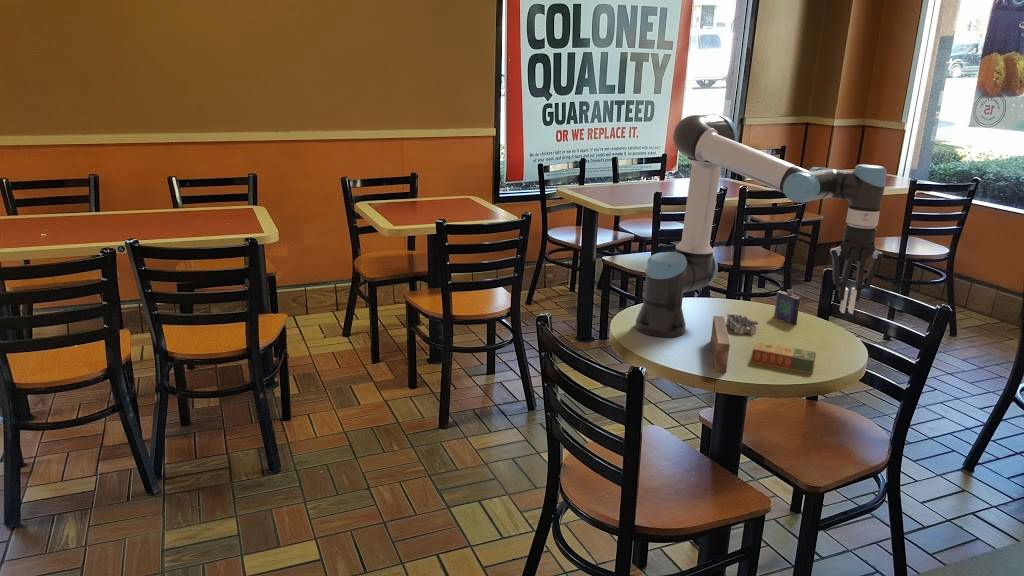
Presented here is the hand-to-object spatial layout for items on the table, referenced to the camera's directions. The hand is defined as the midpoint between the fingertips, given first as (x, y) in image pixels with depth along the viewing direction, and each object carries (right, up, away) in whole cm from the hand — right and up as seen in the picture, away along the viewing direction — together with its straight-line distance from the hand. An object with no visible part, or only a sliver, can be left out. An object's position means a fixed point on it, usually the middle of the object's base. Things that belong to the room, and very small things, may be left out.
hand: (846, 311), depth 197 cm
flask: (0, -5, +44) cm, 44 cm away
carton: (-14, -15, +7) cm, 22 cm away
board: (-31, -13, +11) cm, 36 cm away
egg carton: (-18, -7, +34) cm, 39 cm away
